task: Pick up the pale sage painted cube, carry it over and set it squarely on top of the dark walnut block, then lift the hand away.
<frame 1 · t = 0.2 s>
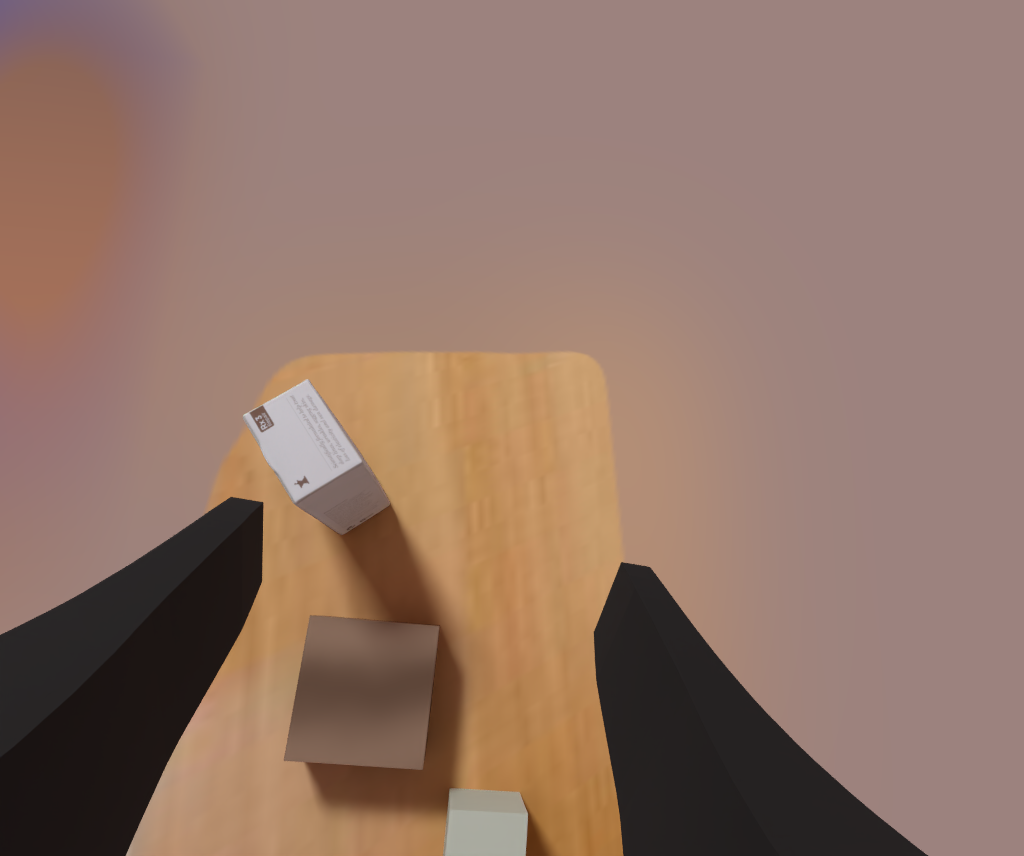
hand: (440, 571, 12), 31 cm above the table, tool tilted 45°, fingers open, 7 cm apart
sage cube: (481, 830, 37), on the table
skincare box: (344, 487, 43), on the table
walnut block: (372, 683, 39), on the table
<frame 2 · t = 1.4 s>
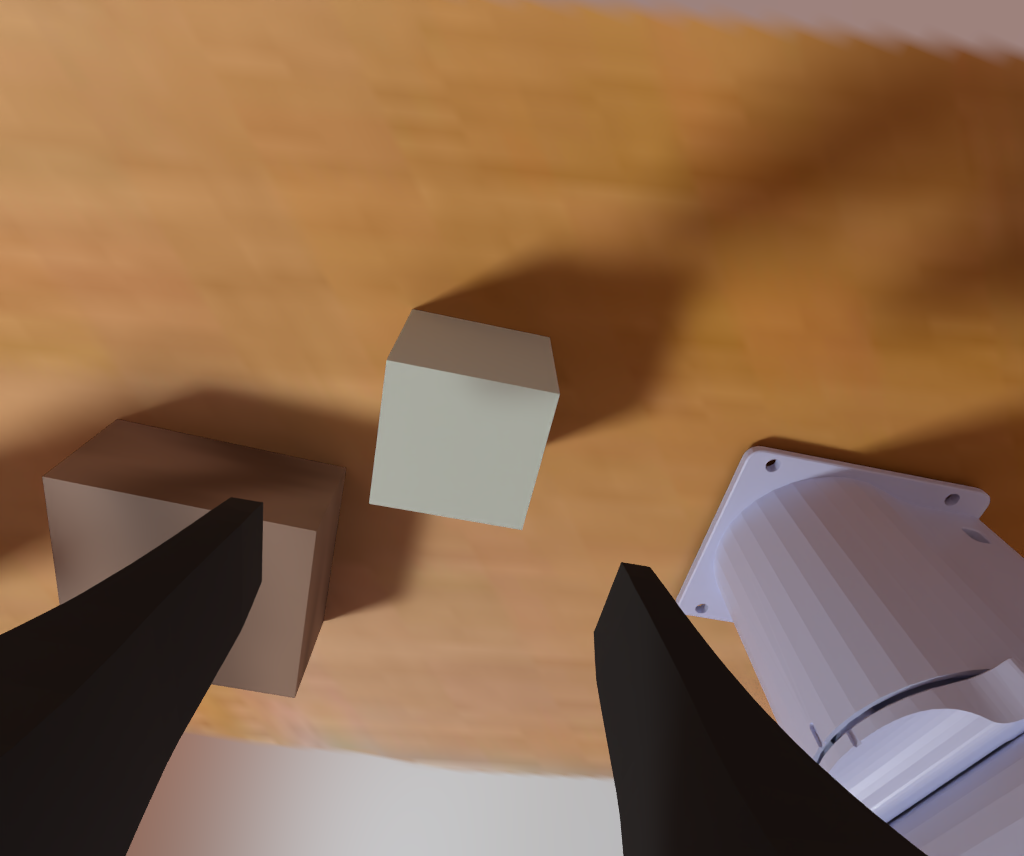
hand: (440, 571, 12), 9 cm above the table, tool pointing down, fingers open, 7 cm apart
sage cube: (469, 384, 20), on the table
walnut block: (233, 526, 23), on the table
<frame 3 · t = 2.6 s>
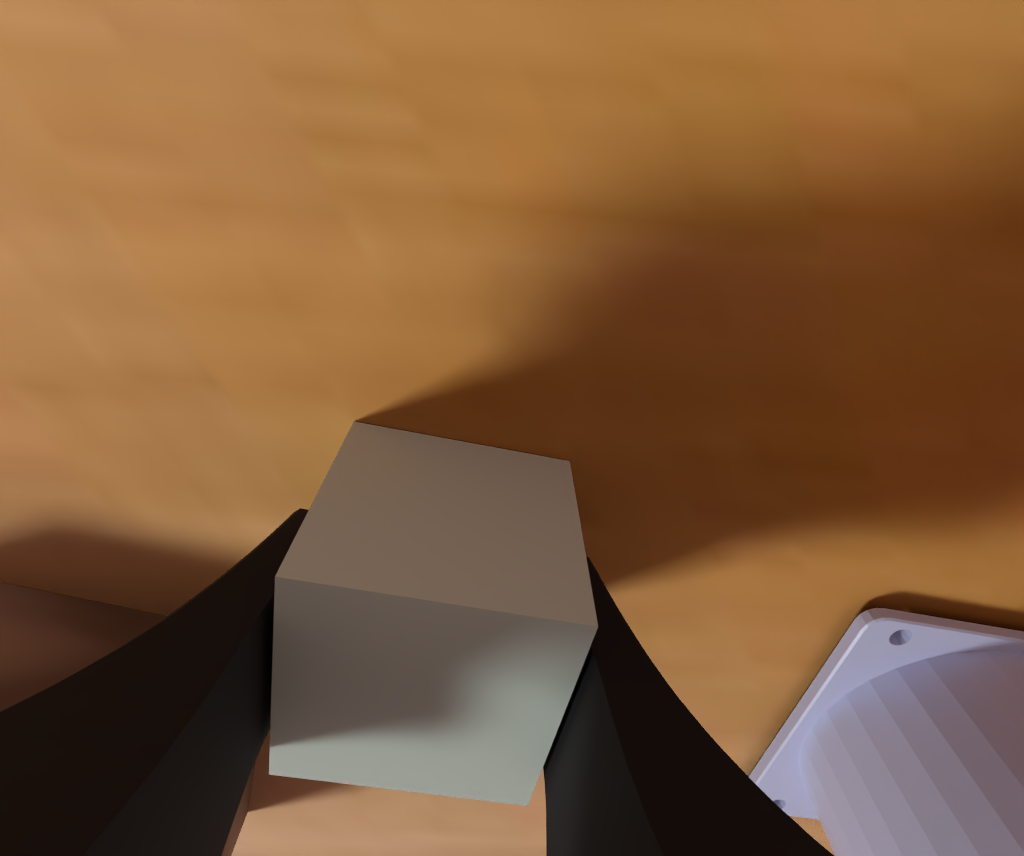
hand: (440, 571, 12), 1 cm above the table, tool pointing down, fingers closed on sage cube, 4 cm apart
sage cube: (446, 527, 13), on the table, touching gripper
walnut block: (116, 698, 16), on the table
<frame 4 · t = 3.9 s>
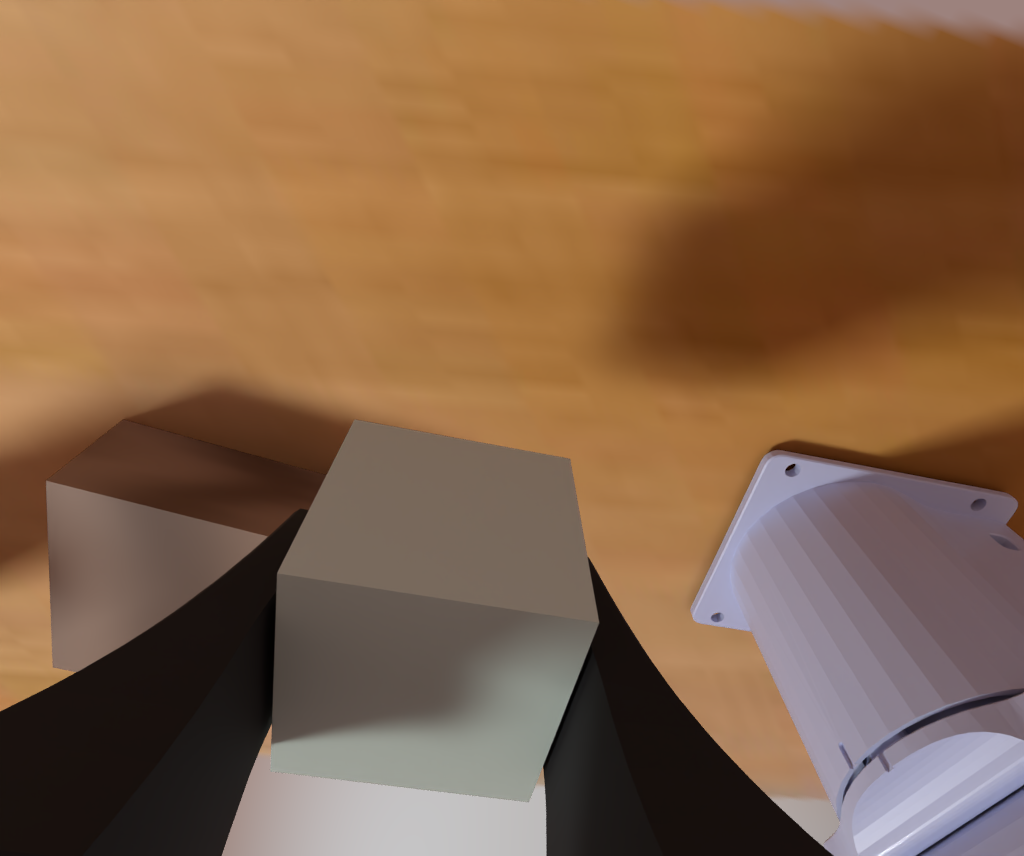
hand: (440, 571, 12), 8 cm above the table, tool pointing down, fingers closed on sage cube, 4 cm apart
sage cube: (447, 525, 13), point 7 cm above the table, touching gripper
walnut block: (234, 534, 22), on the table
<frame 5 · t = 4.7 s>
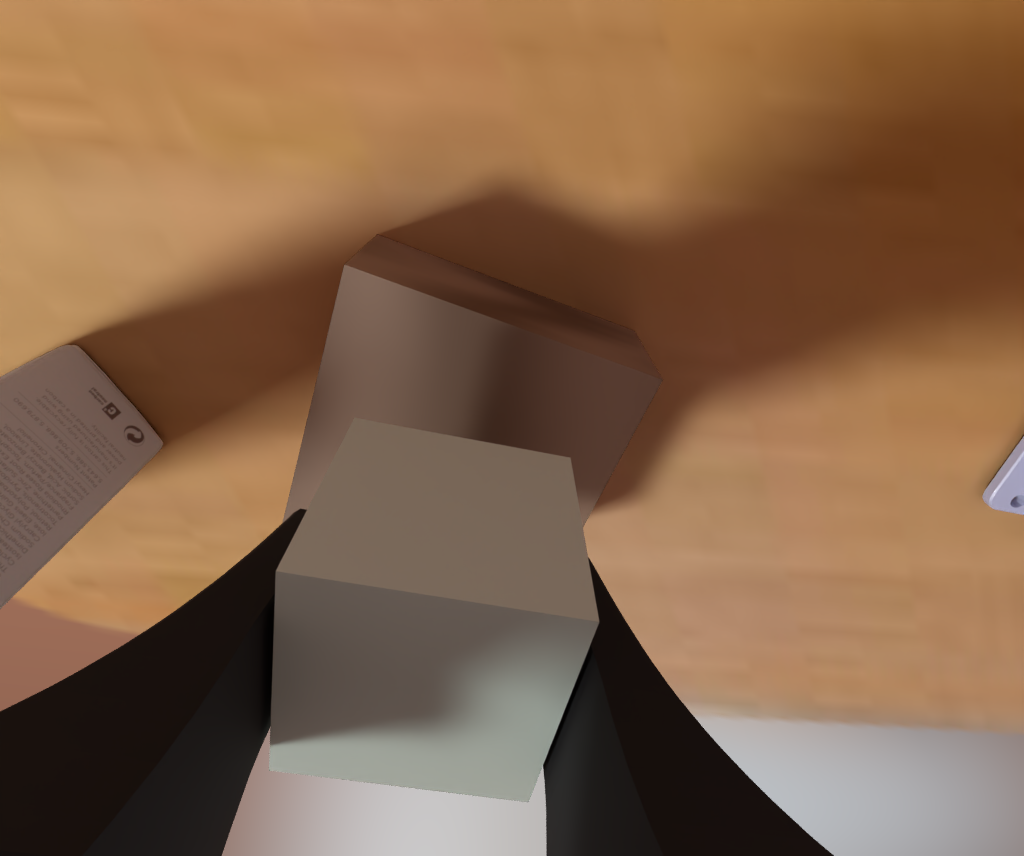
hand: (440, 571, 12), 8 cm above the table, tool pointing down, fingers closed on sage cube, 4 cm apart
sage cube: (447, 524, 13), point 6 cm above the table, touching gripper
skincare box: (63, 430, 20), on the table
walnut block: (467, 396, 19), on the table
when the fingers open (6 cm above the table, at t = 5.3 s): sage cube drops 1 cm, resting on walnut block.
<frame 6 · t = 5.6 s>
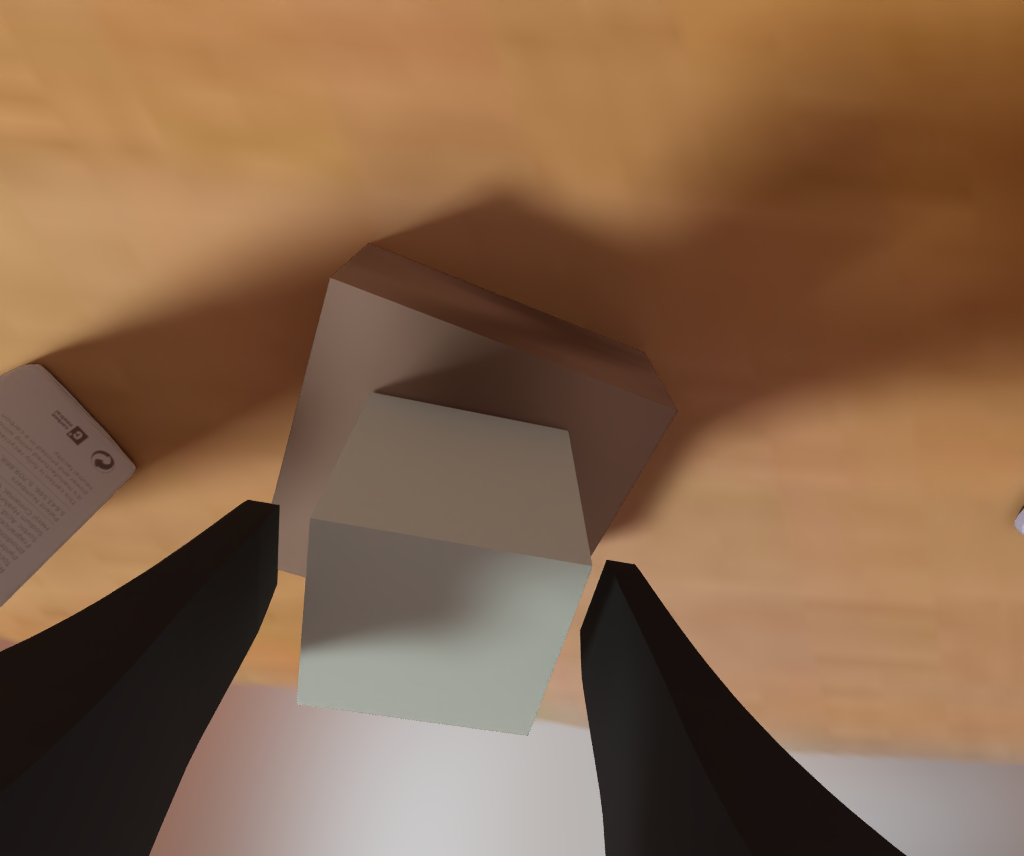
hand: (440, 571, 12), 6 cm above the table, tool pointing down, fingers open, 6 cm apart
sage cube: (454, 492, 14), point 4 cm above the table, touching walnut block
skincare box: (28, 454, 18), on the table
walnut block: (463, 417, 18), on the table, touching sage cube
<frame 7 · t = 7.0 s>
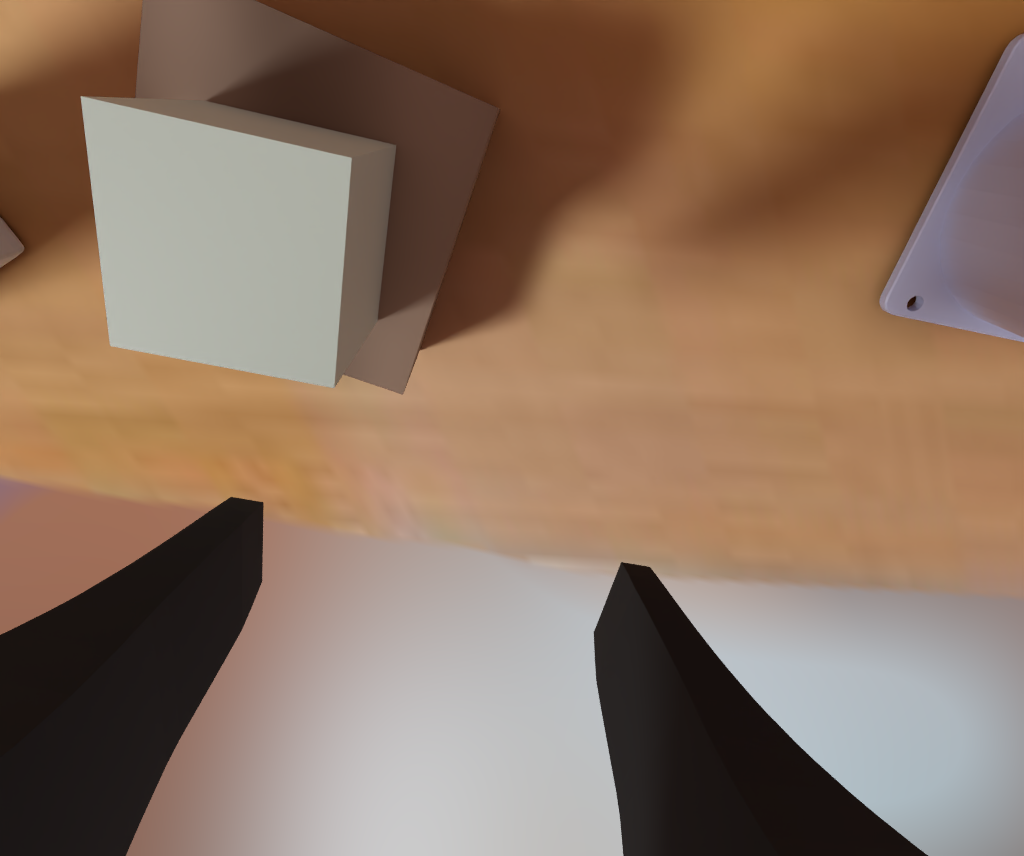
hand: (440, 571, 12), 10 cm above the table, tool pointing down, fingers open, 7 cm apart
sage cube: (298, 220, 15), point 4 cm above the table
walnut block: (336, 191, 18), on the table
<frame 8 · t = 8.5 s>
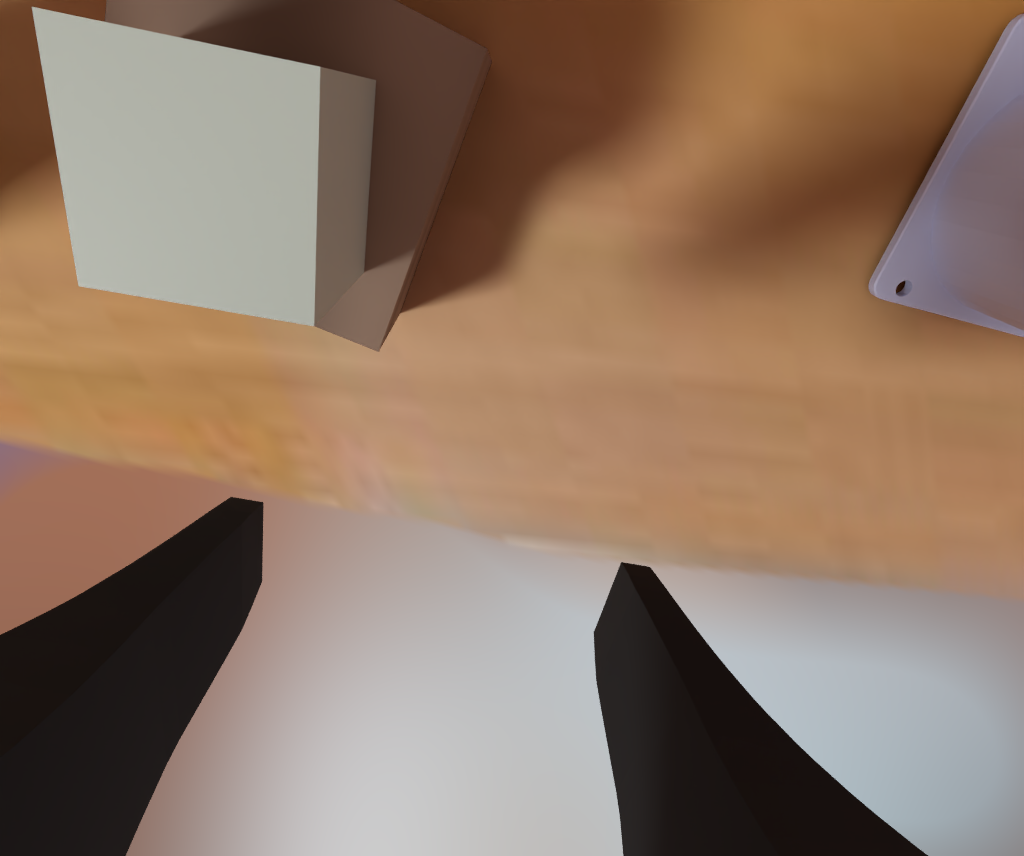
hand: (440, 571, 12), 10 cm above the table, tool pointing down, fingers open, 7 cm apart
sage cube: (277, 165, 14), point 4 cm above the table
walnut block: (319, 140, 18), on the table
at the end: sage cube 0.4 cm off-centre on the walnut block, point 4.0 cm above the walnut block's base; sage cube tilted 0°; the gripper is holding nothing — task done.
